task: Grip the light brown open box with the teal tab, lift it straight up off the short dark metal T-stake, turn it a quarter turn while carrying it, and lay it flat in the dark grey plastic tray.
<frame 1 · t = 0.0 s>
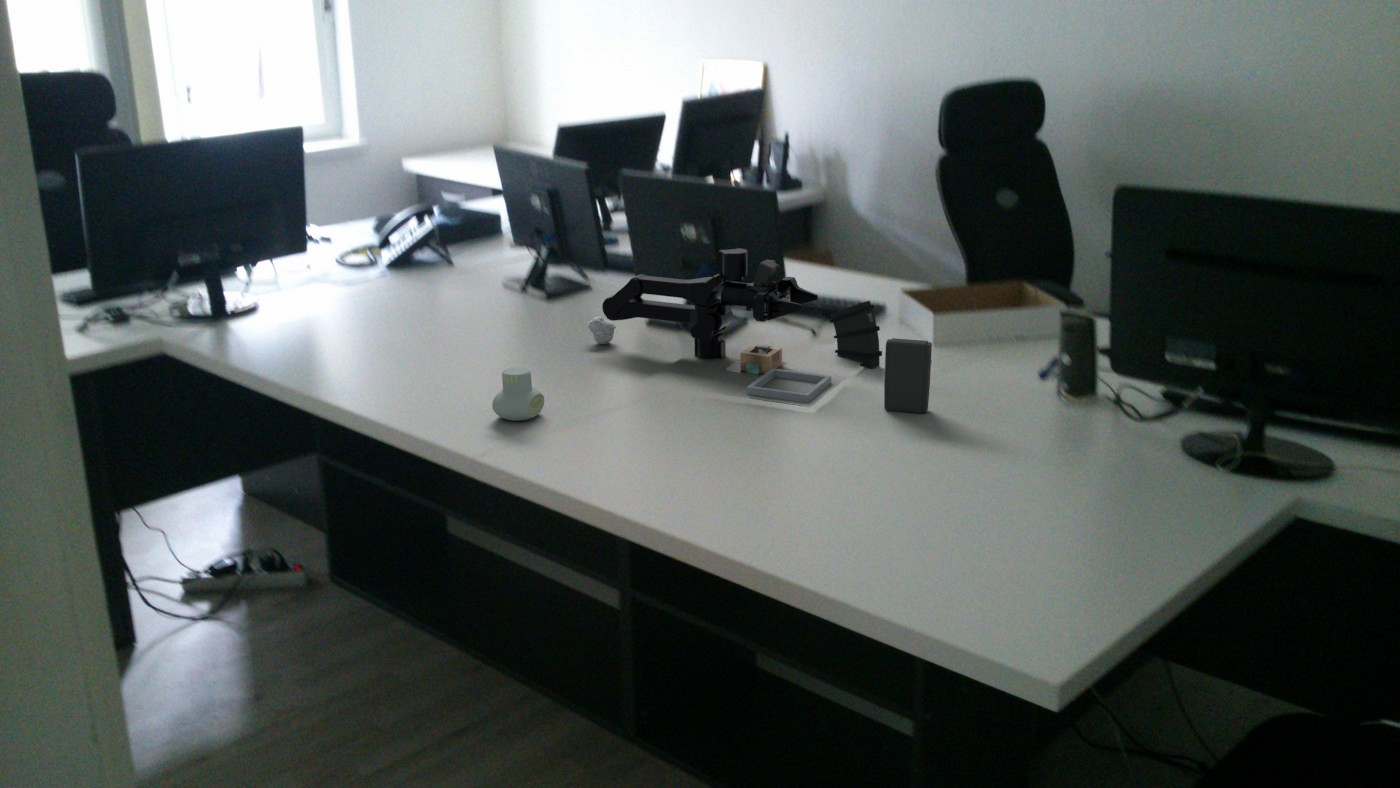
hand: (810, 302, 267), 17 cm above the table, tool horizontal, fingers open, 9 cm apart
card reader: (906, 410, 248), on the table
grey lumpy chunk: (602, 344, 297), on the table
air freshener: (519, 417, 249), on the table
stake stand: (755, 370, 275), on the table
tray: (789, 392, 260), on the table
magazine: (854, 362, 280), on the table
light brown open box: (761, 367, 274), point 1 cm above the table, touching stake stand
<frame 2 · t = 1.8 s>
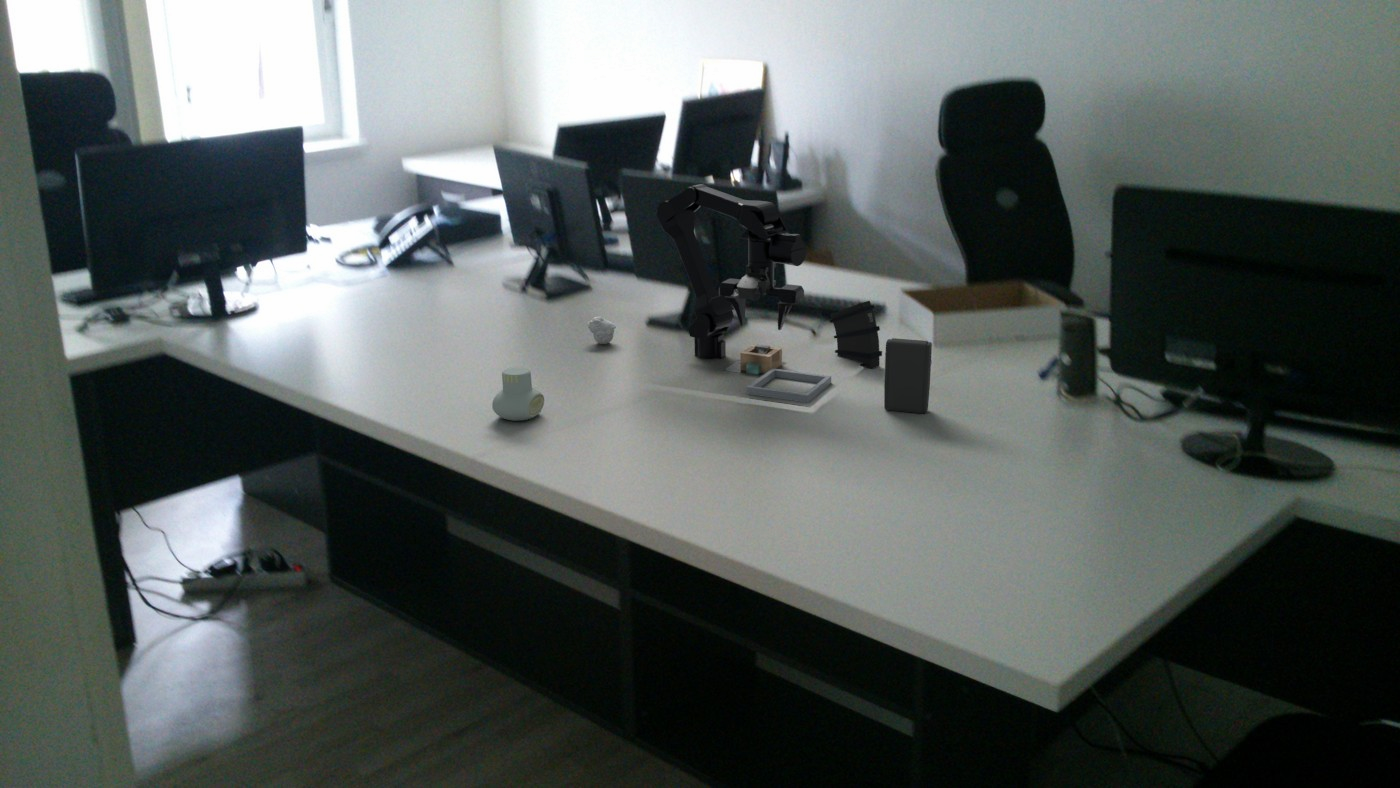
hand: (761, 327, 271), 10 cm above the table, tool pointing down, fingers open, 9 cm apart
nothing on the table moved.
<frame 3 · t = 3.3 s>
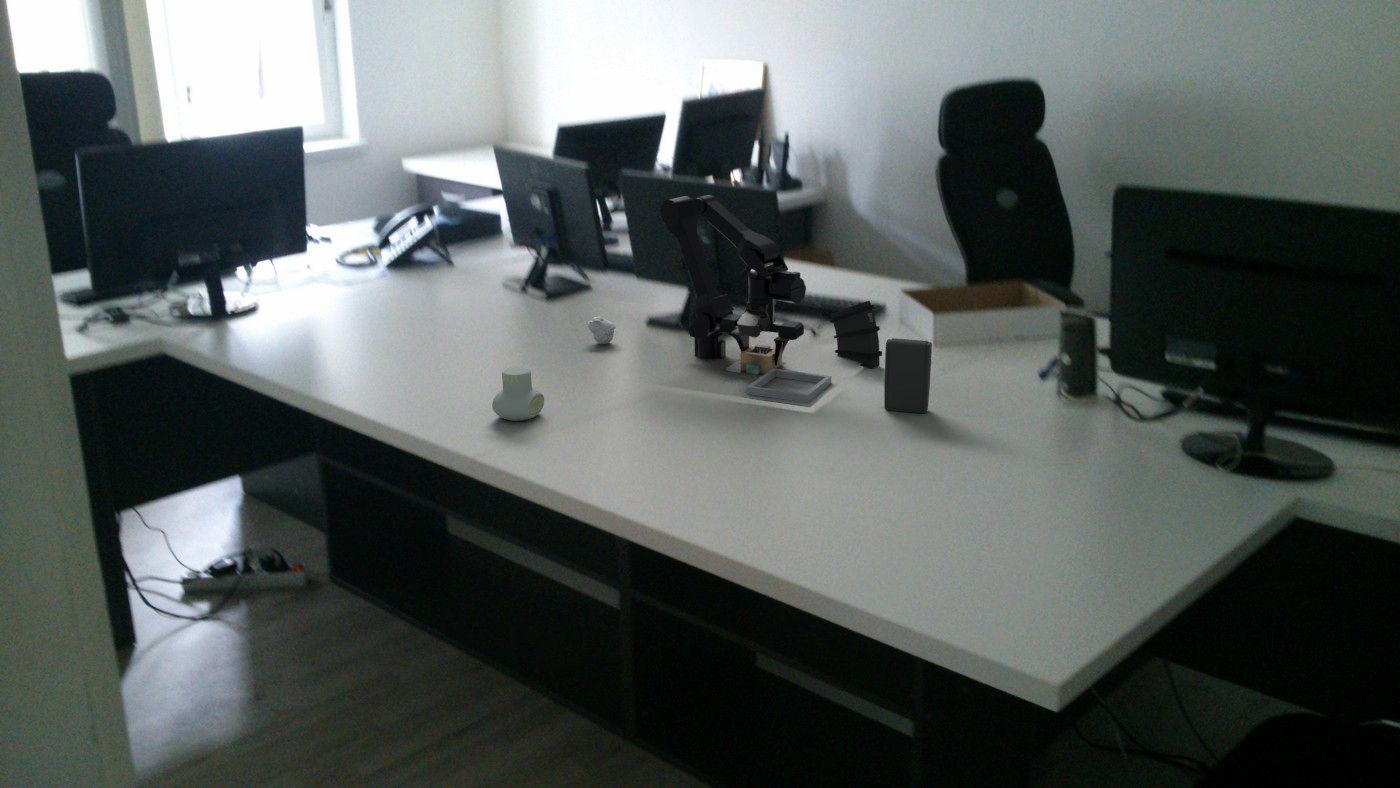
hand: (761, 363, 273), 2 cm above the table, tool pointing down, fingers closed on light brown open box, 7 cm apart
light brown open box: (761, 367, 274), point 1 cm above the table, touching gripper, stake stand
everything else where it was.
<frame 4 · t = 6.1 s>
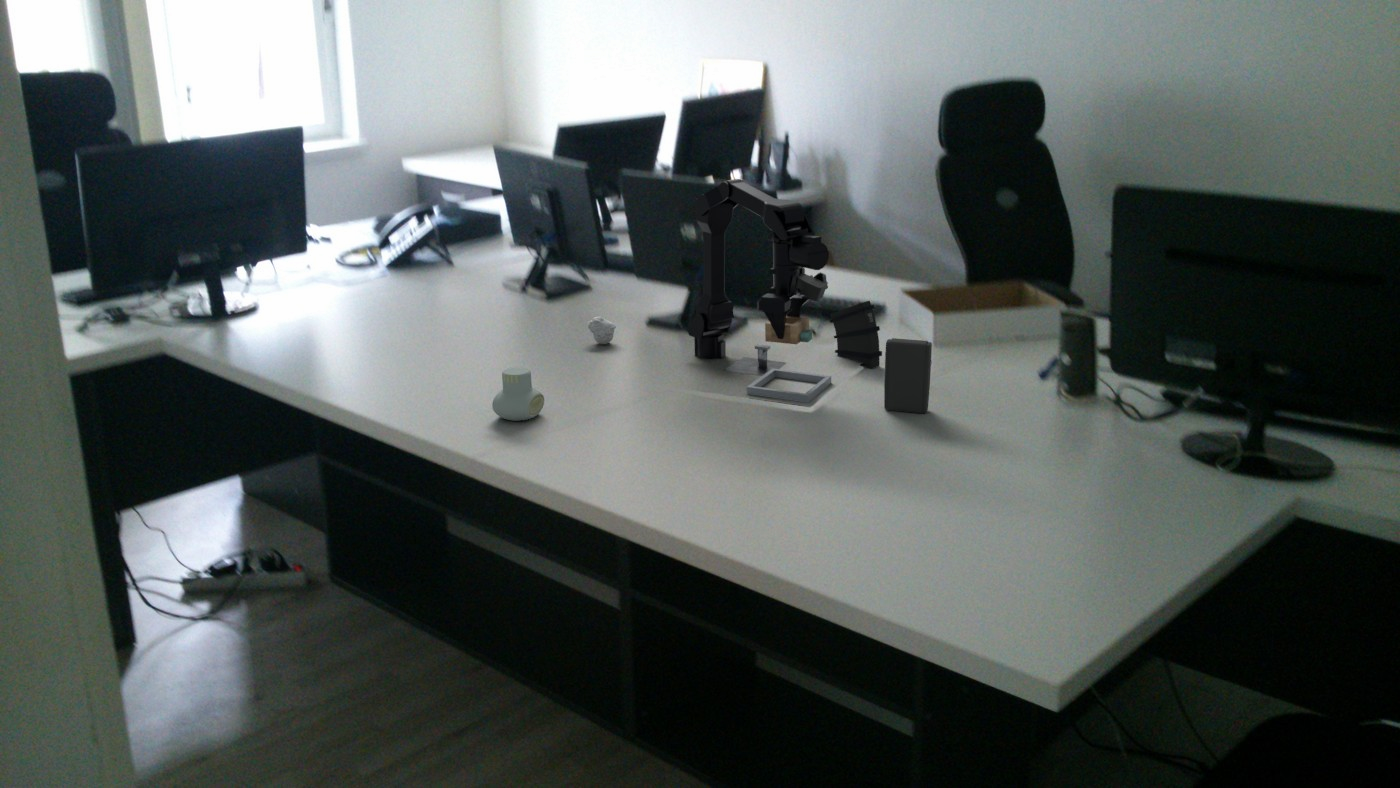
hand: (787, 334, 257), 13 cm above the table, tool pointing down, fingers closed on light brown open box, 7 cm apart
light brown open box: (787, 338, 258), point 12 cm above the table, touching gripper
everything else where it was.
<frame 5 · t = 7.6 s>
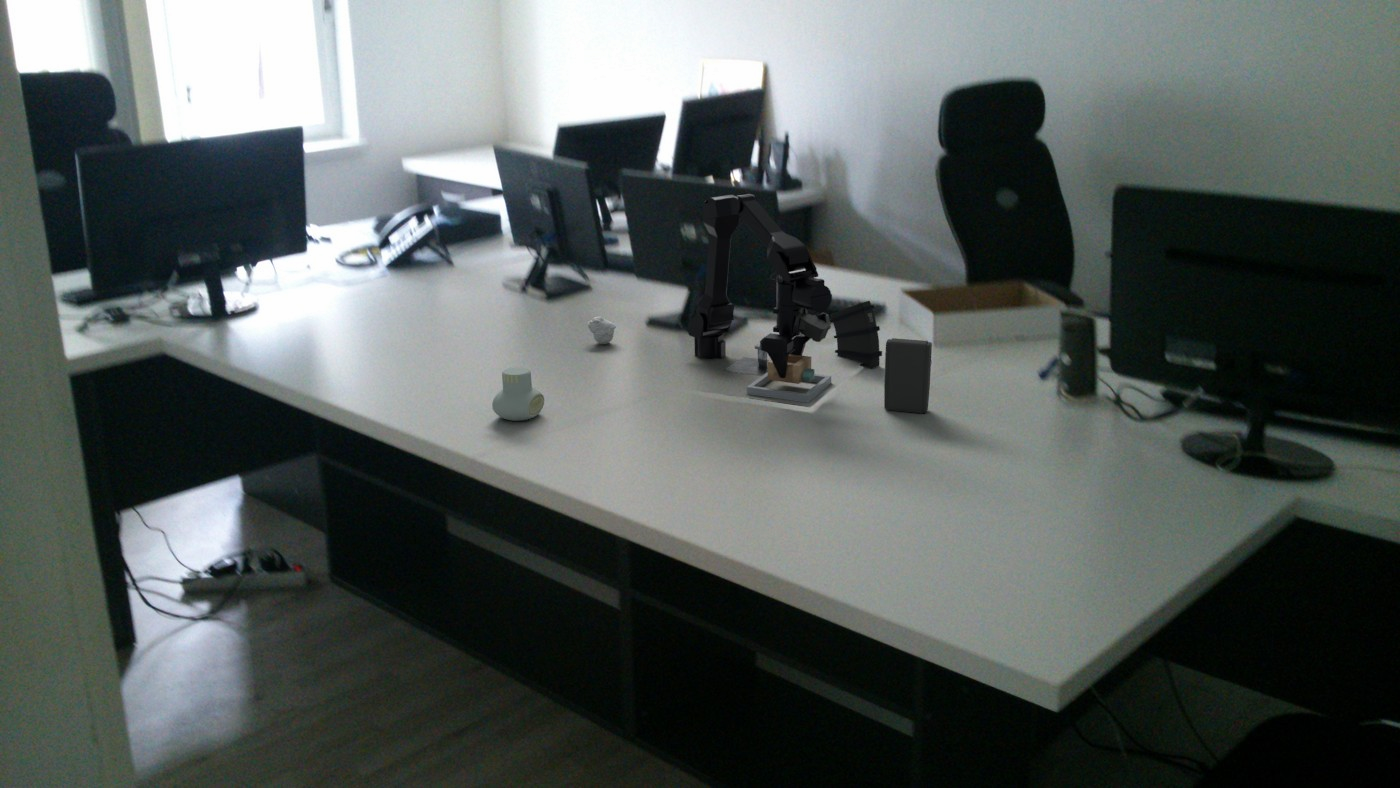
hand: (789, 372, 258), 4 cm above the table, tool pointing down, fingers closed on light brown open box, 7 cm apart
light brown open box: (789, 376, 259), point 4 cm above the table, touching gripper
everything else where it was.
when the fingers open (3 cm above the table, at t = 8.9 s): light brown open box drops 2 cm, resting on tray.
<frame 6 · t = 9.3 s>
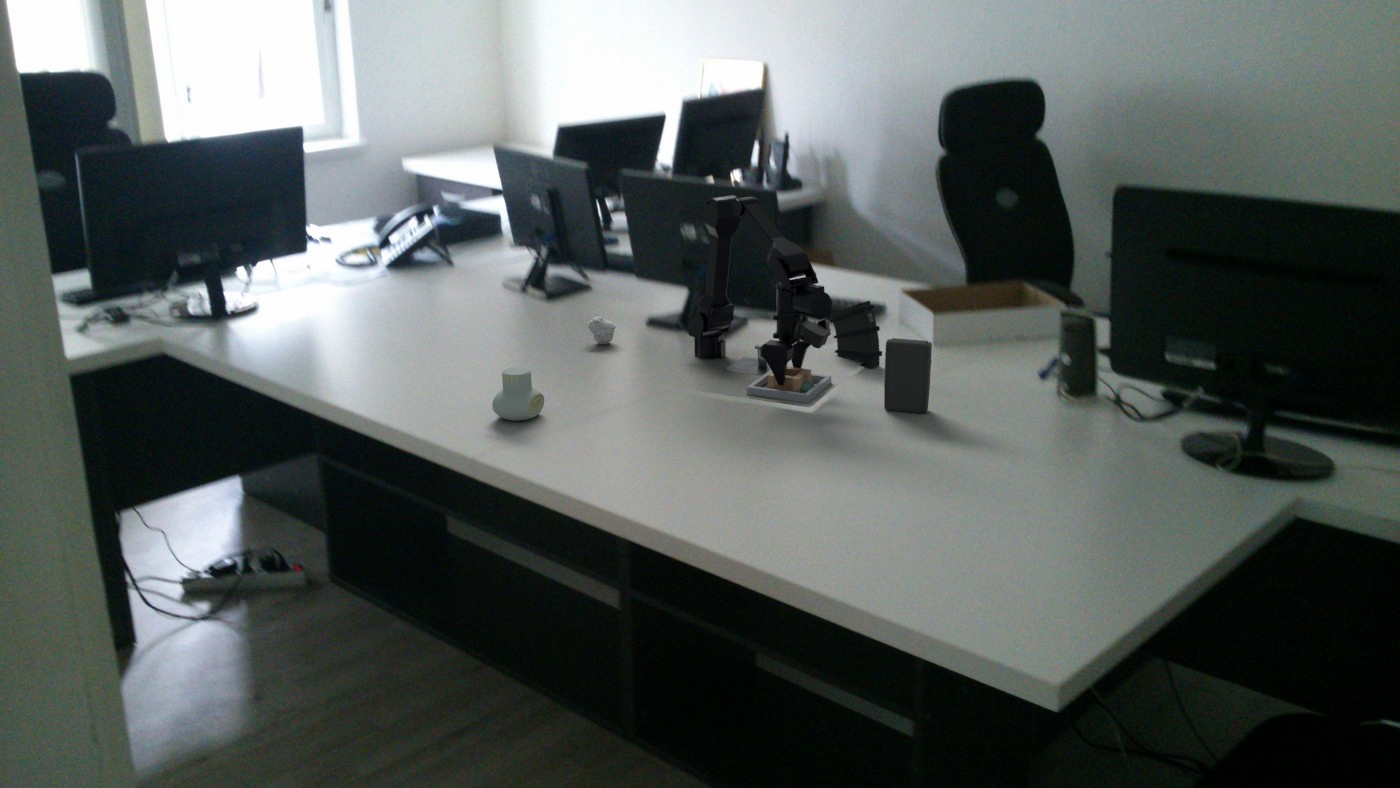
hand: (789, 378, 259), 3 cm above the table, tool pointing down, fingers open, 9 cm apart
light brown open box: (789, 389, 260), point 1 cm above the table, touching tray
everything else where it was.
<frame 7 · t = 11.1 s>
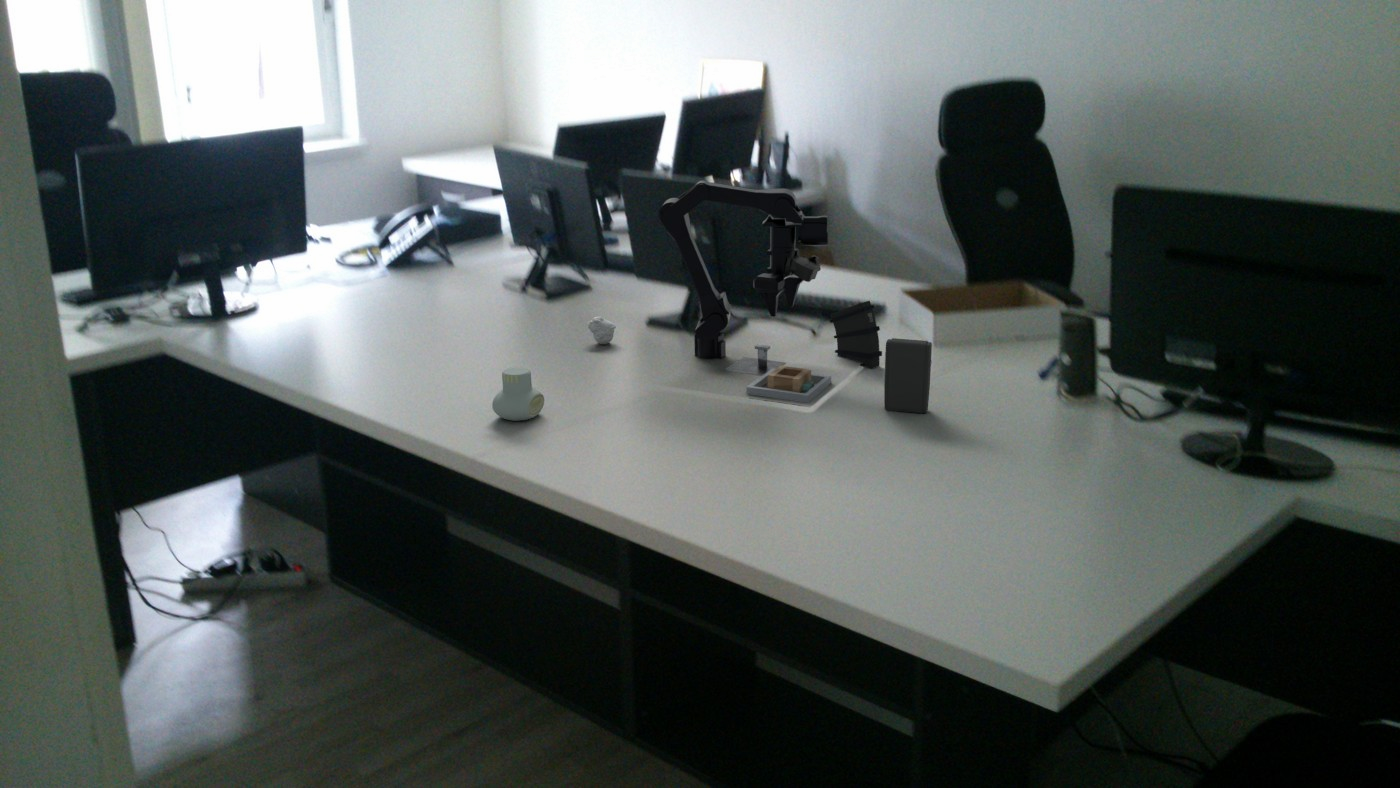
hand: (782, 311, 278), 12 cm above the table, tool pointing down, fingers open, 9 cm apart
nothing on the table moved.
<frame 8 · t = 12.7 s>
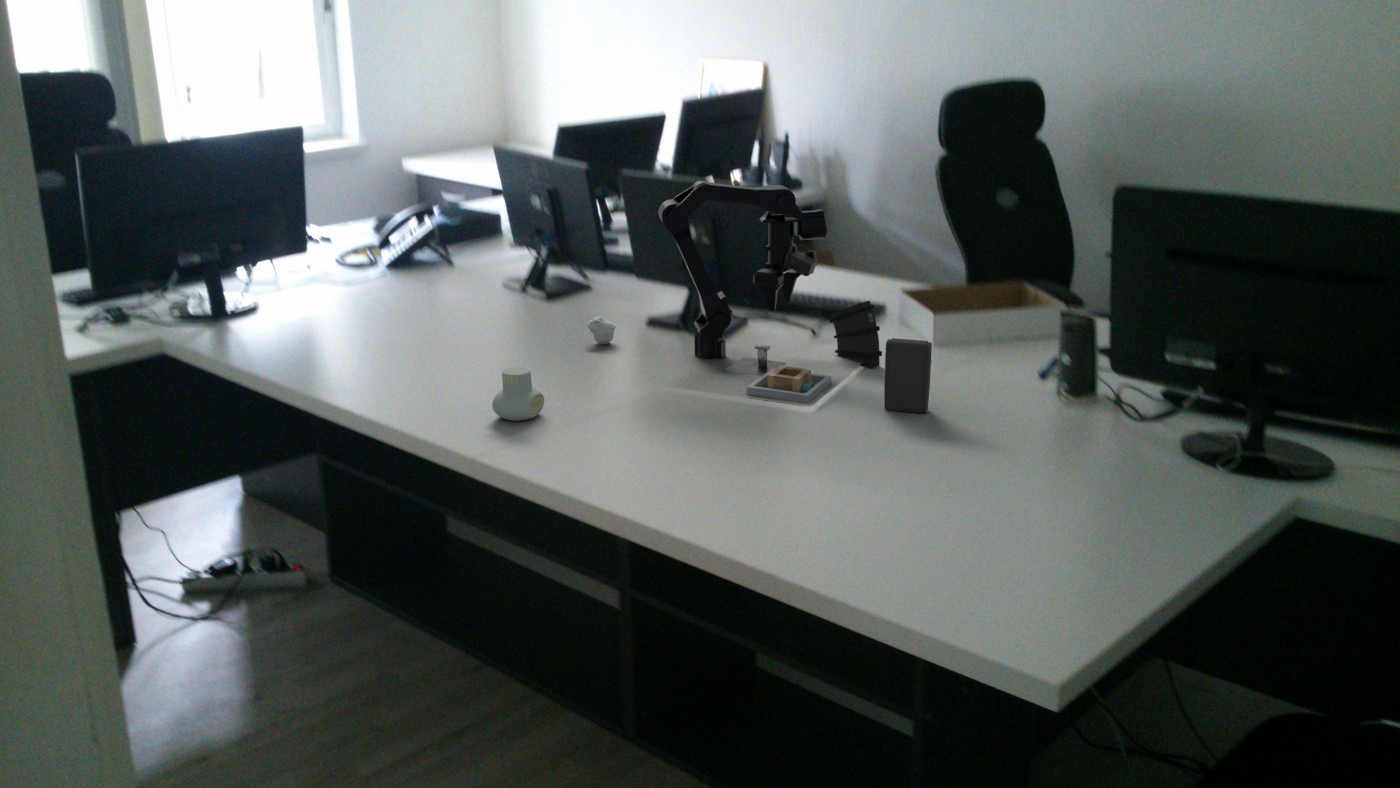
hand: (780, 306, 282), 12 cm above the table, tool pointing down, fingers open, 9 cm apart
nothing on the table moved.
at the end: light brown open box 0.0 cm off-centre on the tray, point 0.6 cm above the tray's base; light brown open box tilted 0°; the gripper is holding nothing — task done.
